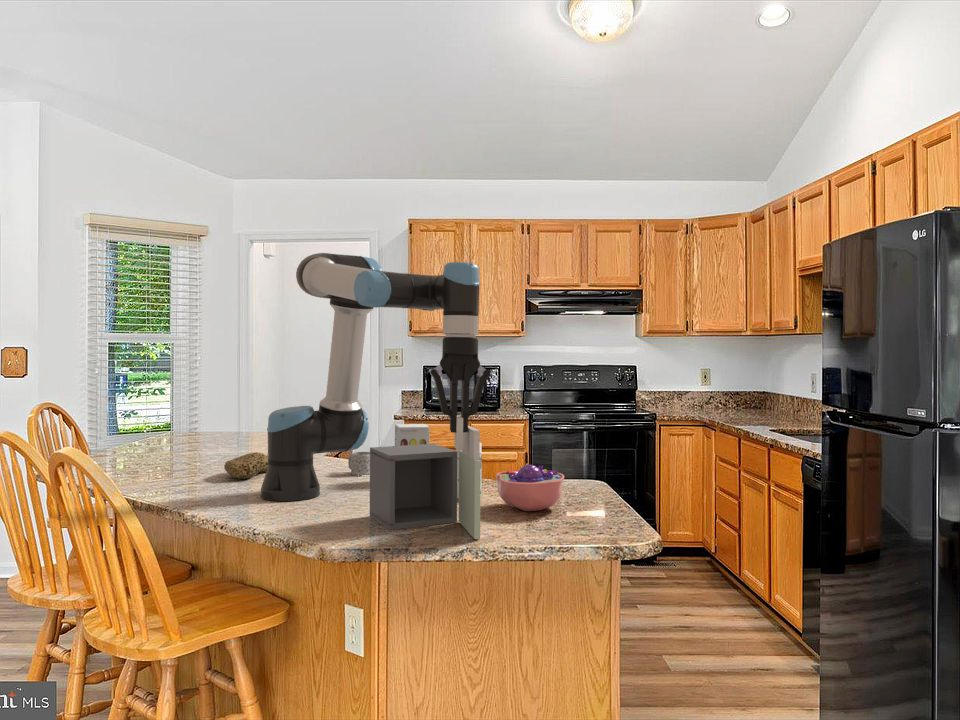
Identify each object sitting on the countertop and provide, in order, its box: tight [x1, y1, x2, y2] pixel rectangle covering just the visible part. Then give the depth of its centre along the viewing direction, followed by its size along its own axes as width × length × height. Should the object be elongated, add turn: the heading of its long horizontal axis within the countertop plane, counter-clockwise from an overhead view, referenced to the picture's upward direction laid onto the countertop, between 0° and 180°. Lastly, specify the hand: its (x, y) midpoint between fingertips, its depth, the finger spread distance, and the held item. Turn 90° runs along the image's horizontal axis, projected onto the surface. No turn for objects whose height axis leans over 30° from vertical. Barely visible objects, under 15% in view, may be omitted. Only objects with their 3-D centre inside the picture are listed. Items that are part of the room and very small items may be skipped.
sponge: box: [223, 451, 268, 480], centre depth 215 cm, size 13×8×20 cm
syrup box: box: [455, 441, 483, 500], centre depth 185 cm, size 6×6×14 cm
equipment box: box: [369, 443, 458, 531], centre depth 160 cm, size 14×16×16 cm
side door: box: [458, 424, 481, 540], centre depth 150 cm, size 1×16×22 cm, turn 13°
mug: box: [348, 451, 370, 477], centre depth 220 cm, size 10×7×7 cm, turn 46°
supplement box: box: [394, 423, 431, 446], centre depth 206 cm, size 10×9×17 cm
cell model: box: [495, 464, 565, 512], centre depth 172 cm, size 17×20×11 cm
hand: (458, 447), depth 148 cm, fingers closed
